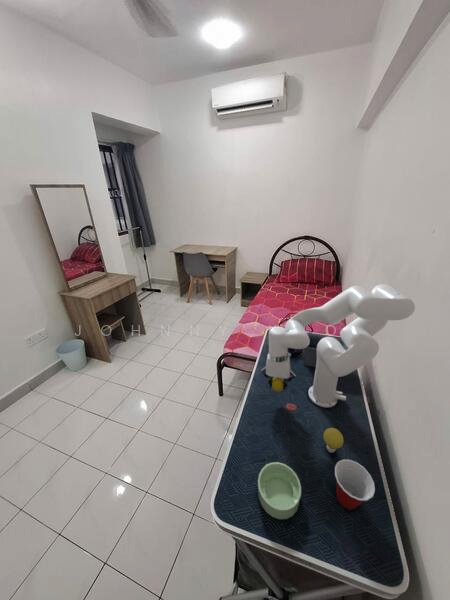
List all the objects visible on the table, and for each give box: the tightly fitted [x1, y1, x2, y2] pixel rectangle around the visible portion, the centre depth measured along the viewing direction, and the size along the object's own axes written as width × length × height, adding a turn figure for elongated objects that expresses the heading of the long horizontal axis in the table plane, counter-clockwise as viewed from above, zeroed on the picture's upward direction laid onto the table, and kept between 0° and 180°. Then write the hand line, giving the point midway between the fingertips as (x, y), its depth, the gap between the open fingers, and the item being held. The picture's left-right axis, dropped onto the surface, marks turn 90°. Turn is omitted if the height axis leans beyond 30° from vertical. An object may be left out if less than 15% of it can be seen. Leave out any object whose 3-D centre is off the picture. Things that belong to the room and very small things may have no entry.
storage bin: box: [303, 332, 348, 368], centre depth 128 cm, size 21×16×14 cm
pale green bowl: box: [257, 461, 302, 520], centre depth 76 cm, size 13×13×6 cm
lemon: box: [271, 377, 284, 392], centre depth 108 cm, size 6×6×8 cm
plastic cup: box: [334, 459, 376, 510], centre depth 73 cm, size 11×11×12 cm
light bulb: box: [322, 427, 345, 454], centre depth 87 cm, size 7×7×10 cm
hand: (277, 385), depth 108 cm, fingers closed on lemon, 5 cm apart
